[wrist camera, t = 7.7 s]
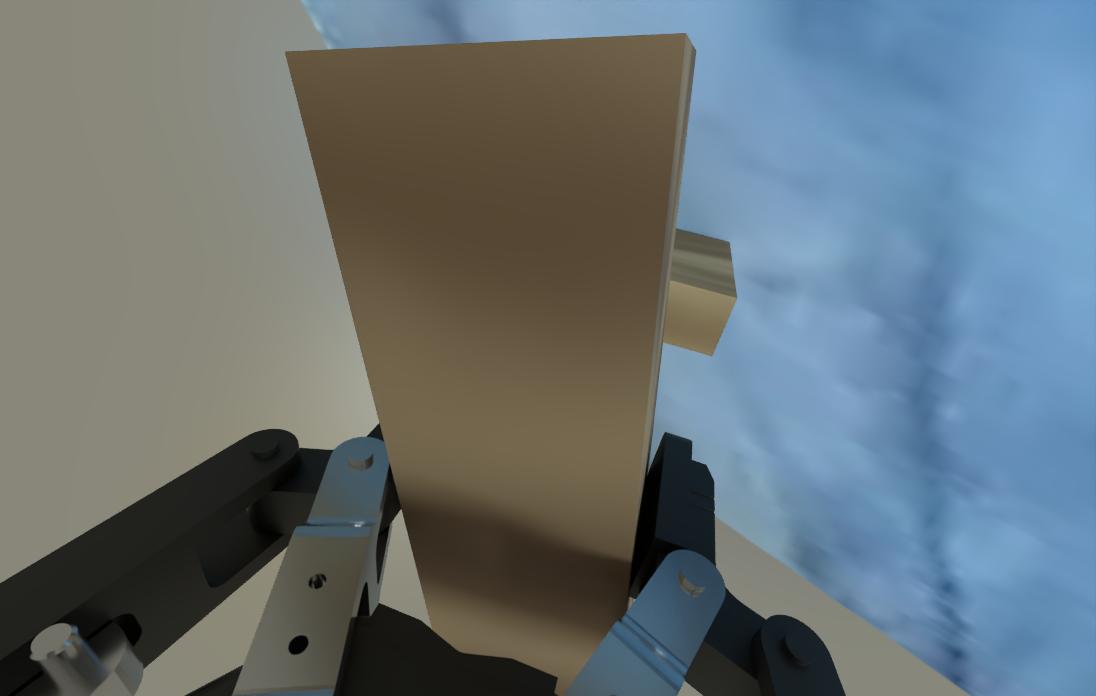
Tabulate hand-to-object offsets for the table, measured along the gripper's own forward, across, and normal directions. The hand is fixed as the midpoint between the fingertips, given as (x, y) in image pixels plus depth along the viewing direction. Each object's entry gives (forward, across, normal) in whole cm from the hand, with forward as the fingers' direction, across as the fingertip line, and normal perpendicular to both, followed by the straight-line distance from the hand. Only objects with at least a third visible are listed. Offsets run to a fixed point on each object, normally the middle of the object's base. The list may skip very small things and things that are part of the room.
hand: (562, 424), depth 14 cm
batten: (+1, 0, 0) cm, 1 cm away
